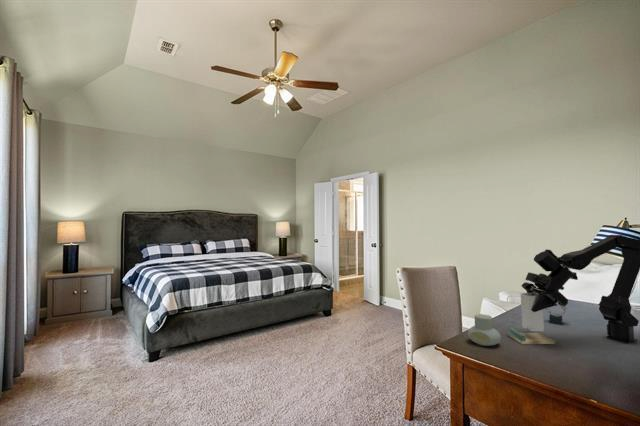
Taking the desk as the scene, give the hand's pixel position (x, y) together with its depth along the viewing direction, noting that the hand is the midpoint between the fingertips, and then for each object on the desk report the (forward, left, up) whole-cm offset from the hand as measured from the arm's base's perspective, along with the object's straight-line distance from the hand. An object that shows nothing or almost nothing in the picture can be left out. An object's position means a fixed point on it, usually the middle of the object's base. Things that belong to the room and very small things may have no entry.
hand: (528, 309), depth 118 cm
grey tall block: (-1, -1, -7) cm, 8 cm away
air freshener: (+4, +19, -12) cm, 22 cm away
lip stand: (0, 0, -11) cm, 11 cm away
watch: (+10, -31, -12) cm, 35 cm away
